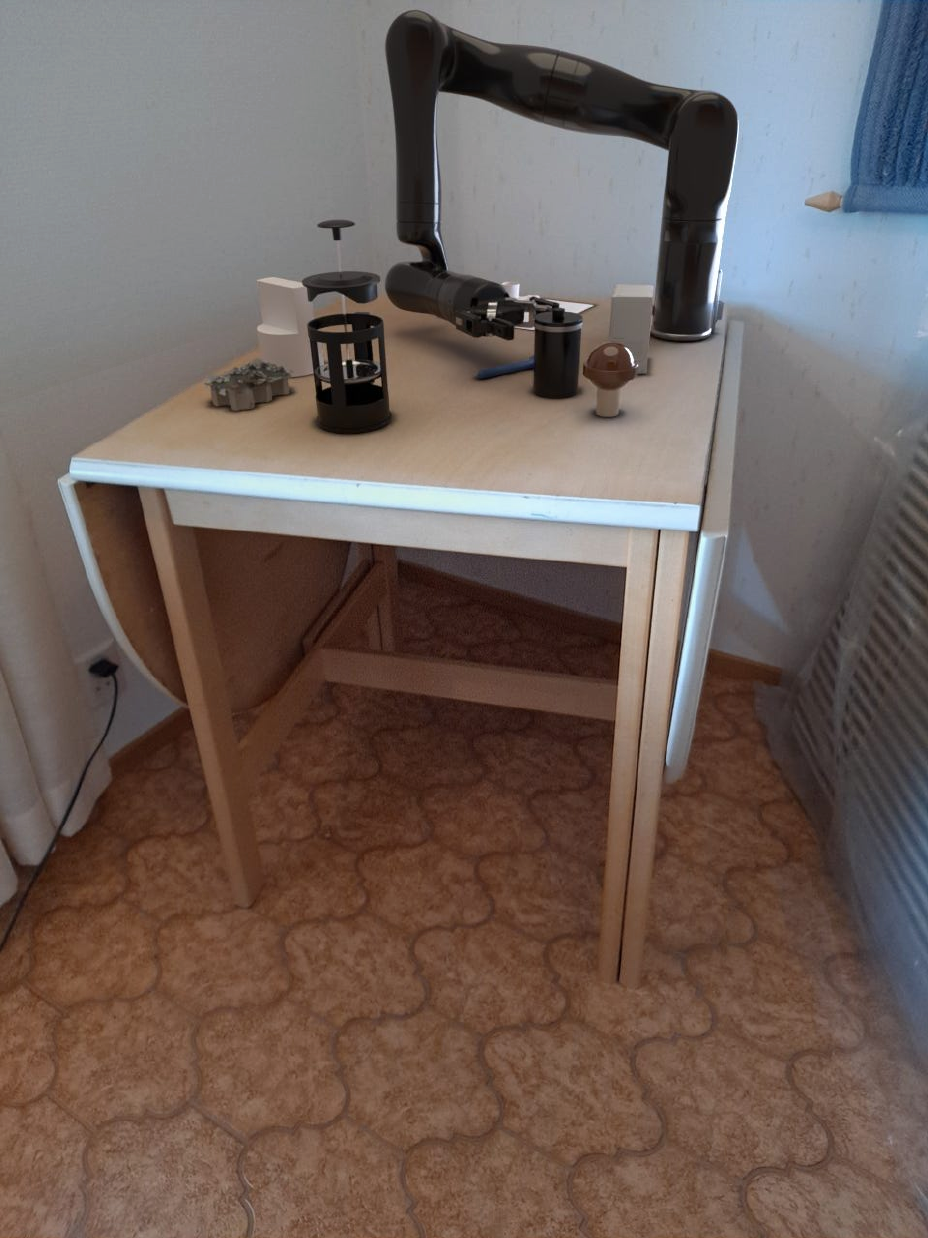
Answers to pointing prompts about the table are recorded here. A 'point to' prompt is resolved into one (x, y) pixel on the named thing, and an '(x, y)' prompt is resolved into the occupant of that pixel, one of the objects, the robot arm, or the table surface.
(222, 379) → the egg carton
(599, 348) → the mushroom
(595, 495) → the table surface
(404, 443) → the table surface
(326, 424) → the french press
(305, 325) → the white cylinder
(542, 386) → the pot
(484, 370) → the round blue paddle
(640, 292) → the small box
